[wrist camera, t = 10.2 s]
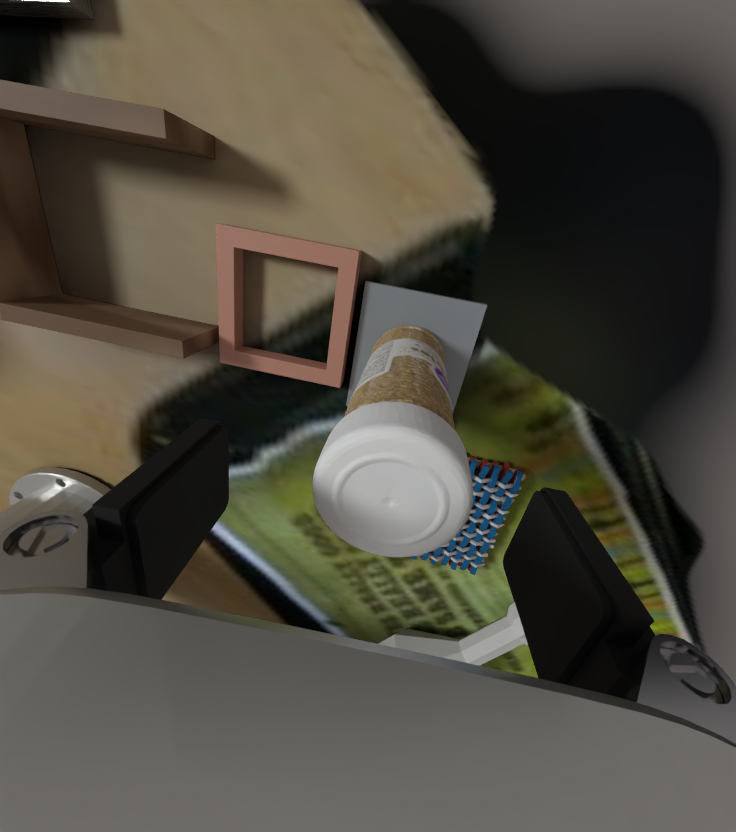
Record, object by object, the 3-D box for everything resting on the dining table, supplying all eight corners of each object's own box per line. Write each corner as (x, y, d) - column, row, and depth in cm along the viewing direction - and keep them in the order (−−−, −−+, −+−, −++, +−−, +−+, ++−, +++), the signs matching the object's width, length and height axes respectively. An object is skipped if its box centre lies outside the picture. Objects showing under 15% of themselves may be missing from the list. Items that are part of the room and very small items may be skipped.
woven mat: (357, 532, 30) (353, 550, 28) (384, 426, 25) (382, 440, 23) (476, 562, 29) (480, 583, 27) (527, 461, 24) (536, 478, 23)
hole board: (343, 381, 23) (339, 387, 22) (228, 357, 23) (219, 362, 22) (362, 250, 19) (359, 251, 18) (226, 224, 20) (215, 223, 19)
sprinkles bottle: (459, 362, 21) (512, 517, 9) (403, 407, 23) (385, 585, 11) (409, 305, 20) (395, 395, 8) (354, 357, 22) (275, 492, 10)
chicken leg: (557, 629, 32) (596, 701, 24) (398, 708, 35) (384, 796, 27) (503, 550, 33) (523, 595, 25) (353, 635, 36) (327, 698, 28)
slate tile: (447, 424, 23) (448, 427, 23) (347, 402, 24) (346, 405, 23) (485, 303, 20) (487, 305, 19) (366, 280, 20) (365, 281, 20)
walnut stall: (220, 341, 23) (183, 358, 19) (52, 306, 24) (-14, 316, 20) (214, 136, 18) (163, 109, 14) (1, 97, 19) (-99, 62, 15)
